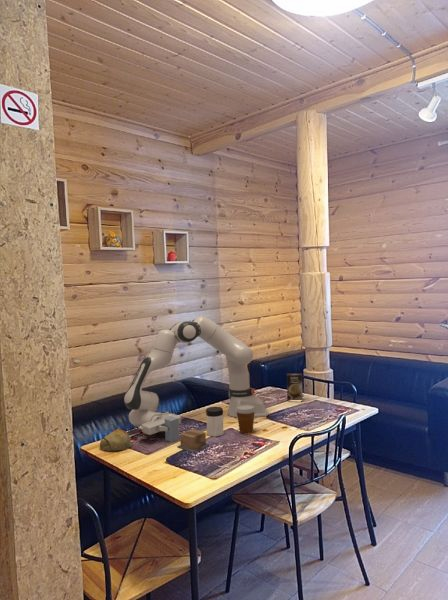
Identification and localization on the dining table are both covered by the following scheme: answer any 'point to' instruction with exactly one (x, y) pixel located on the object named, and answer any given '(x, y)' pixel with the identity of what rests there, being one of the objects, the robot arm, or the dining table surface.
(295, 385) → the coffee box
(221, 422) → the jar
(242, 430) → the disposable coffee cup
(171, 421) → the pillar
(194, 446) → the plinth
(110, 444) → the olive brown rounded lump
